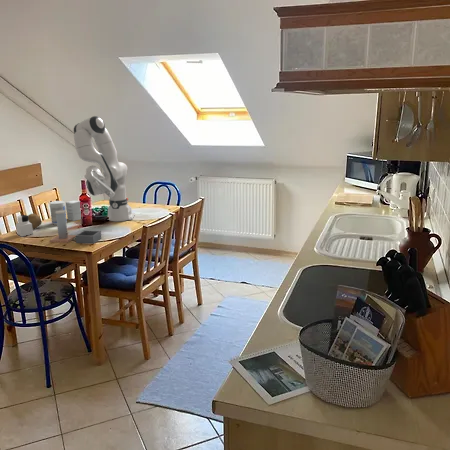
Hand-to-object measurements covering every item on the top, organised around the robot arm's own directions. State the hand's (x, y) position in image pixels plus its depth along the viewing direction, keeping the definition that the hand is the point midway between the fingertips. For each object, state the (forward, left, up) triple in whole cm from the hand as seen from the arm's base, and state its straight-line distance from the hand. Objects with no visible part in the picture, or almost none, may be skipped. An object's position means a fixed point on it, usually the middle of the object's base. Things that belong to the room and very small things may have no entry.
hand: (104, 191), depth 258 cm
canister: (+9, -24, -27) cm, 37 cm away
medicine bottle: (+2, -53, -28) cm, 60 cm away
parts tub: (+9, -8, -28) cm, 30 cm away
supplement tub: (-25, -45, -28) cm, 58 cm away
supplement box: (-37, -40, -28) cm, 61 cm away
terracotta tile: (+9, -24, -28) cm, 38 cm away
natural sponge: (-11, -55, -28) cm, 63 cm away
